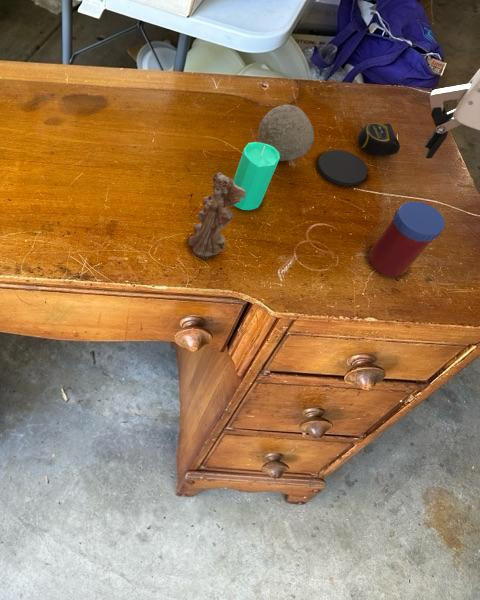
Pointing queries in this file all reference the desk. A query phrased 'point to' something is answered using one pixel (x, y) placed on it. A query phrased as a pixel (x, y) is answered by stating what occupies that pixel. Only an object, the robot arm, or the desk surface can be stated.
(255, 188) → the candle
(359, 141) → the tape measure
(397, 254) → the jam jar
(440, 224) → the jam lid
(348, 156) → the coaster
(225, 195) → the figurine
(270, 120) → the decorative stone
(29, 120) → the desk surface
